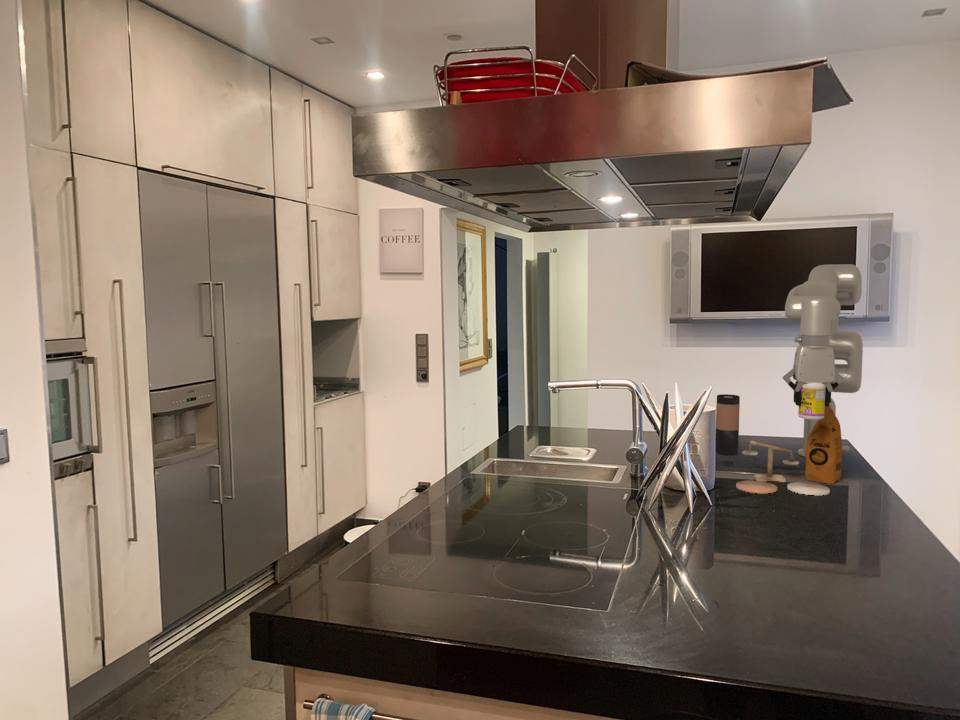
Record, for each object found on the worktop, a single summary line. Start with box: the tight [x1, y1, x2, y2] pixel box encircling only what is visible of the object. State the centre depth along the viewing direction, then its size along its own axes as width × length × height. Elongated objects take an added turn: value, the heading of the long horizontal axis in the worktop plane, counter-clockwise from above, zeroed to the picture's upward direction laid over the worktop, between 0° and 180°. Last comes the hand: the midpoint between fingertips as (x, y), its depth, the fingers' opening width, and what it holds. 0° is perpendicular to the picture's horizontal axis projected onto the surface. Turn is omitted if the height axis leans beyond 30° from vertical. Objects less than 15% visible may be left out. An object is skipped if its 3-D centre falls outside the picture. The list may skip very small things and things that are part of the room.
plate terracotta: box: [735, 480, 778, 495], centre depth 203 cm, size 11×11×1 cm
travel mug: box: [715, 394, 741, 456], centre depth 245 cm, size 8×8×20 cm
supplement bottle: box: [797, 383, 826, 420], centre depth 198 cm, size 7×7×13 cm
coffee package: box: [804, 405, 843, 485], centre depth 212 cm, size 10×12×22 cm
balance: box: [741, 440, 800, 483], centre depth 211 cm, size 16×4×12 cm, turn 82°
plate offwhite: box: [786, 481, 831, 497], centre depth 201 cm, size 11×11×1 cm
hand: (811, 404), depth 198 cm, fingers closed on supplement bottle, 6 cm apart
